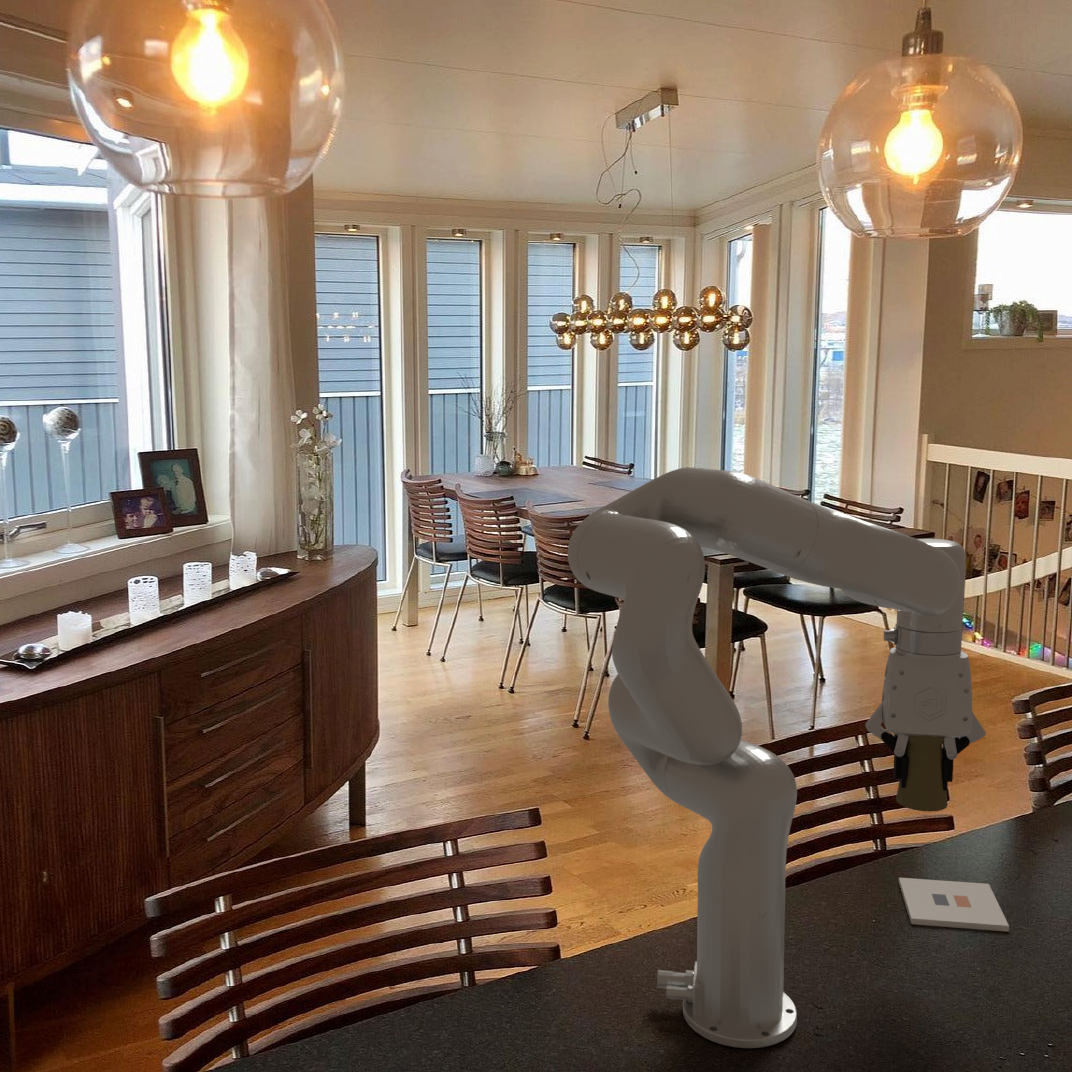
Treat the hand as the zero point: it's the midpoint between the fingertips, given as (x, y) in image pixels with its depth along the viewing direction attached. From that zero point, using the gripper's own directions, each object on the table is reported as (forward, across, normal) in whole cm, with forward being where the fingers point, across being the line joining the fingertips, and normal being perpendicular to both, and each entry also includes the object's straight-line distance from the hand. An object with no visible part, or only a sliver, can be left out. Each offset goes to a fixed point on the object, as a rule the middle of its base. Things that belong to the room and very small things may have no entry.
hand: (922, 784), depth 134 cm
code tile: (+21, +6, +11) cm, 25 cm away
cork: (+2, 0, 0) cm, 2 cm away
